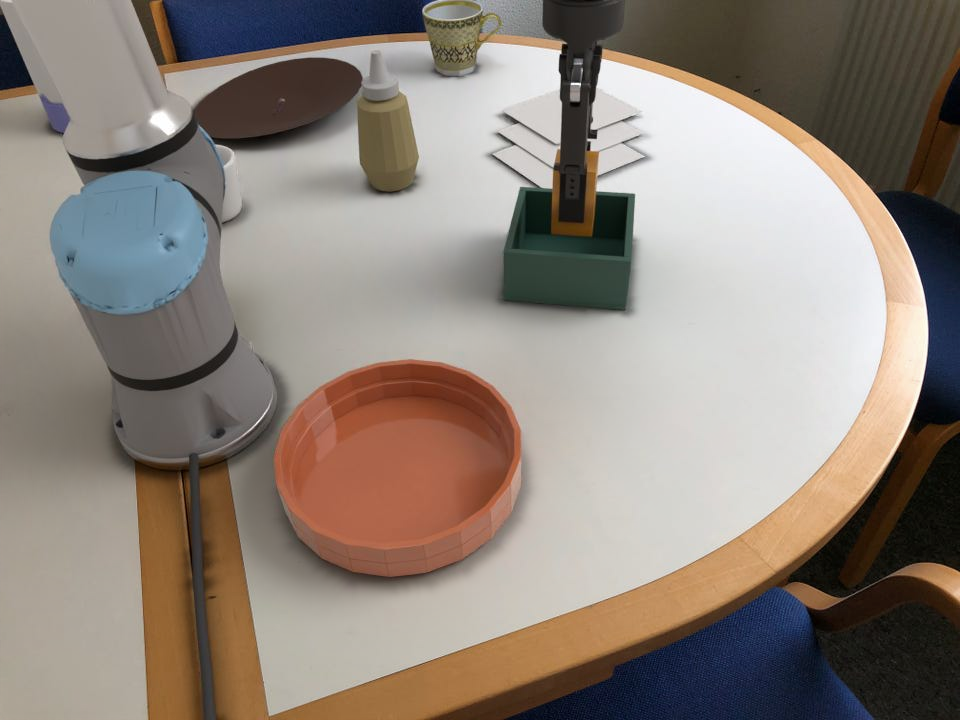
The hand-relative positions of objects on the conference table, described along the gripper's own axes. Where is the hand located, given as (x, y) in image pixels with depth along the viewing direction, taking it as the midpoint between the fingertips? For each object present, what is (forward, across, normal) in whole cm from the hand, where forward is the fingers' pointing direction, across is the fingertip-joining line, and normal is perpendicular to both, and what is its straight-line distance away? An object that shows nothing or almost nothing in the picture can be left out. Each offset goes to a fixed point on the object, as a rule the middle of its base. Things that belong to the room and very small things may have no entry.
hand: (573, 207), depth 88 cm
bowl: (+8, -33, +12) cm, 36 cm away
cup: (+8, +5, +47) cm, 48 cm away
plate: (+9, +37, +50) cm, 63 cm away
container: (+8, +30, +80) cm, 86 cm away
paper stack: (+8, +33, +3) cm, 34 cm away
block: (+2, 0, 0) cm, 2 cm away
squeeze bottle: (+9, +17, +26) cm, 32 cm away
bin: (+8, 0, 0) cm, 8 cm away
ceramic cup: (+9, +55, +23) cm, 60 cm away
